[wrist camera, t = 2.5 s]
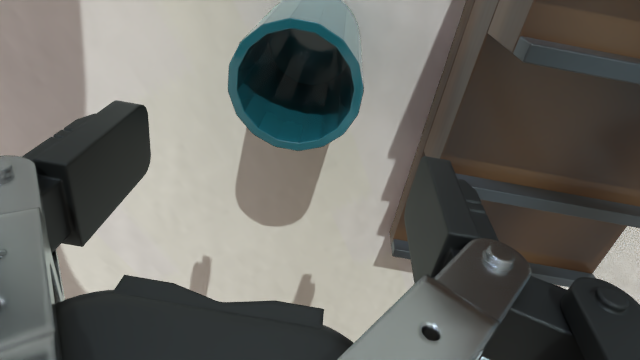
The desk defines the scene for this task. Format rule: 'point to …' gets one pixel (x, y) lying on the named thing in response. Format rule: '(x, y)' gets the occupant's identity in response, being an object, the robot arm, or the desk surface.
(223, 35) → the desk surface
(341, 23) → the cup
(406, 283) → the desk surface
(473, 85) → the shelf rack
